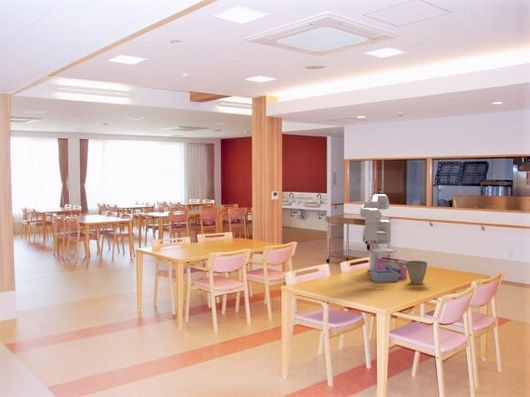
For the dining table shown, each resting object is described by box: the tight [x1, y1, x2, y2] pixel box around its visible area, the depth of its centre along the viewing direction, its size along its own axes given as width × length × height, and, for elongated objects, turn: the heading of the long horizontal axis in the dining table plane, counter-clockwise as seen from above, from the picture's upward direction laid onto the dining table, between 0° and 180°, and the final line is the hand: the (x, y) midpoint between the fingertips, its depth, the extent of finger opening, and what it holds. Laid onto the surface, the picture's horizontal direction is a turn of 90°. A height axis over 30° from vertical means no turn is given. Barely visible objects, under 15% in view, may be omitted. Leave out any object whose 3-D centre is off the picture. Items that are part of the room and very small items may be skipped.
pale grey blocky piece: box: [366, 242, 397, 254], centre depth 380 cm, size 11×20×8 cm, turn 103°
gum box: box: [377, 256, 408, 279], centre depth 398 cm, size 24×8×14 cm, turn 43°
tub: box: [370, 270, 399, 283], centre depth 381 cm, size 11×17×7 cm, turn 103°
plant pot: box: [406, 260, 428, 285], centre depth 372 cm, size 15×15×16 cm
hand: (369, 249), depth 378 cm, fingers closed on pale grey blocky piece
